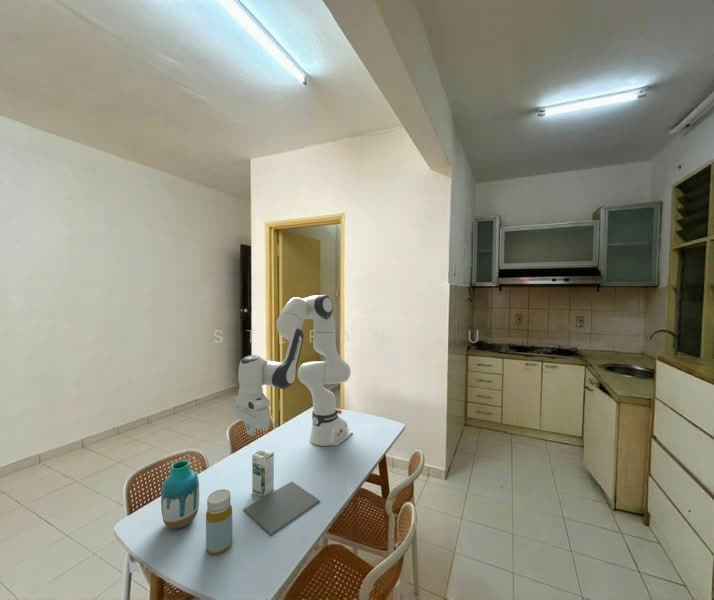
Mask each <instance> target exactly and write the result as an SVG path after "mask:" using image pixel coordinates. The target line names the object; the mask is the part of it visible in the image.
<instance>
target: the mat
mask: <svg viewBox="0 0 714 600" xmlns="http://www.w3.org/2000/svg"><path fill="white" fill-rule="evenodd" d="M320 502H321V501H320V499H319V498H317V497H316V496H314V495H312V494H311V493H310V492H309V491H307V490H305V488H302V487H301V486H300V485H298V484H297V483H295V482H293V481H290V482H288V483H286V484H285V485H283V486H281V487H279V488H278V489H276V490H274V491H271V492H270V493H268V494H267V495H266V496H265V497H261V498H259V500H257V501H255V502H253V503H251V504H250V505H248V506H246V507H244V508H243V512H245V513H246V514H247V515H248V516H249V517H250V518H251V519H252V520H253V521H255V523H256V524H257V525H258V526H260V527H261V528H262V529H263V530H264V531H265V532H266V533H267V535H269V536H273V535H274V534H275V533H276V532H279V530H281V529H283V528H285V526H287V525H289V524H290V523H292V521H294V520H296V519H297V518H299V517H300V516H301V515H303V514H304V513H306V512H307V511H309V510H310V509H312V508H313V507H314V506H316V505H317V504H319V503H320Z"/></svg>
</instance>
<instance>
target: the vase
mask: <svg viewBox="0 0 714 600" xmlns="http://www.w3.org/2000/svg"><path fill="white" fill-rule="evenodd" d="M169 471H170V472H169V475H168V476H167V477H166V478H165V479H164V481H163V482H162V485H161V495H160V503H161V504H160V505H161V509H160V510H161V516H162V517H161V518H162V521H163V524H164V526H166V527H167V528H169V529H172V530H174V529H175V530H177V529H181V528H184V527H186V526H187V525H189V524H190V523H191V522H193V521H194V519H195V518H196V516H197V514H198V512H199V507H200V482H199V476H198V473H197V472H196V471H195V470H192V469H191V464H190V461H189V460H186V459H182V460H179V461H175V462H174V463H172V464H171V466H170V470H169Z"/></svg>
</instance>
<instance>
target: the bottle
mask: <svg viewBox="0 0 714 600" xmlns="http://www.w3.org/2000/svg"><path fill="white" fill-rule="evenodd" d="M231 500H232V499H231V492H230V490H228V489H223V488H221V489H218V490H215V491H213V492H211V493H210V494H209V495H208V496H207V500H206V503H207V505H206V506H207V507H206V509H207V510H206V513H205V538H206V539H205V541H206V542H205V544H206V545H205V547H206V551H207V552H208V553H209V554H210V555H212V556H213V555H220V554H223V553H224V552H226V551H227V550H228V549H229V548H230V547H231V546H232V544H233V506H232V504H231Z"/></svg>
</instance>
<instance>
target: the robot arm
mask: <svg viewBox="0 0 714 600" xmlns="http://www.w3.org/2000/svg"><path fill="white" fill-rule="evenodd" d="M333 311H334V303H333V300H332V299H331V297H330V296H328V295H326V294H319V295H310V296H308V297H304V298H301V297H298V296H297V297H296V296H295V297H292V298H290V299H289V301H287V303H286V304H285V305H284V307H283V309H282V310H281V312H280V314H279V316H278V318H277V320H276V326H275V327H276V330H277V332H278V333H279V335H280V336H281V337H283V338H284V339H285V340H286V341H288V346H287V350H286V353H285V356H284V357H285V358H284V359H283V360H282V361H275V360H274V361H273V360H267V359H264V358H262V357H261V356H260V355H258V354H252V355H247V356H244V357H243V358H242V359H240V362H239V365H238V377H237V378H238V380H237V382H238V385H239V388H238V391H237V393H238V394H237V395H236V399H235V401H234V406H233V415H234V418H236V419H238V420H240V421H242V422H243V423H244V425H245V428H246V434H248V435H250V436H251V437H253V436H254V435H255V434H256V429H257V430H259V431H265V430H266V429H268V428H269V427H270V423H271V414H270V413H271V411H270V408H269V407H270V406H271V401H270V400H269V399H268V397H267V396H266V395H265V394H264V389H263V386H264V385H265V386H269V387H275V388H277V389H279V390H280V389H281V390H287V389H288V388H289V387H291V386H292V385H293V384H294V382H295V381H296V377H297V378H298V380H299V381H300V383H301V384H303V385H304V386H306V388H307V389H308V390H309V392H310V394H311V397H312V414H311V416H312V418H311V419H312V423H311V425H312V426H311V430H310V431H311V432H310V436H309V441H310V443H311V444H312V445H315V446H321V447H325V446H327V447H328V446H339V445H340V444H341V443H342V442H344V441H345V440H346V439H348V438H349V437H350V436H352V435H353V431H352V429H350V428H349V427H348V422H347V421H346V420H345V419H344V418H342V417H341V416H339V415H341V414H342V412H343V411H342V410H341V409H339V408H338V409H336V395H335V393H334V392H333V391H331V390H330V389H327V388H325V387H324V385H332V384H333V385H334V384H337V385H338V384H342V383H345V382H348V380H349V379H350V377H351V368H350V365H349V363H347V362H346V361H345V360H344V359H343V358H342V357H341V356H340V354H339V353H338V349H337V343H336V326H335V325H336V324H335V319H334V316H333ZM305 320H312V321H313V329H312V331H313V333H312V334H313V336H312V337H313V338H312V340H313V343H312V346H313V350H314V351H315V352H316V353H318V354H319V355H322V356H324V357H325V358H326V359H325V360H321V361H319V360H318V361H308V362H304V363H302V364H300V366H299V368H298V365H299V360H300V356H301V352H302V347H303V344H304V336H305V335H304V332H303V330H302V329H303V325H304V323H305ZM297 368H298V370H297Z"/></svg>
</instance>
